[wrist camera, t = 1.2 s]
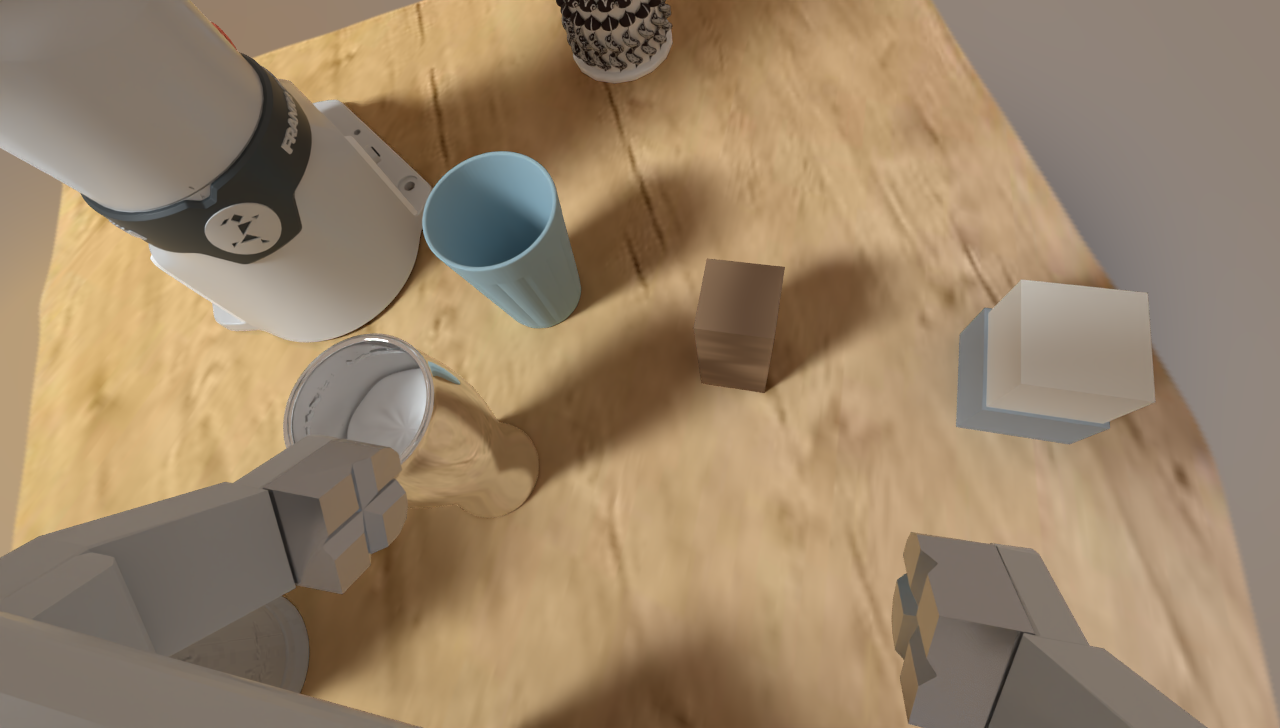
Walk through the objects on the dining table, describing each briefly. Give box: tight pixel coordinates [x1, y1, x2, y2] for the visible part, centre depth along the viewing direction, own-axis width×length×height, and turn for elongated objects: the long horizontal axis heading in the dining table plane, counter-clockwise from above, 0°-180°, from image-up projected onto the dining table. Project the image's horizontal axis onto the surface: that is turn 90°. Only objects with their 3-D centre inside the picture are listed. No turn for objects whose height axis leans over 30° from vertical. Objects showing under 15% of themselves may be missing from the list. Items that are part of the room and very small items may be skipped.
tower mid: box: [986, 280, 1156, 424], centre depth 30 cm, size 6×6×4 cm
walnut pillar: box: [694, 259, 785, 393], centre depth 34 cm, size 4×4×9 cm
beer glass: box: [283, 334, 539, 518], centre depth 31 cm, size 7×7×15 cm
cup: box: [422, 151, 581, 328], centre depth 37 cm, size 8×8×10 cm
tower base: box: [956, 308, 1110, 444], centre depth 33 cm, size 6×6×4 cm
